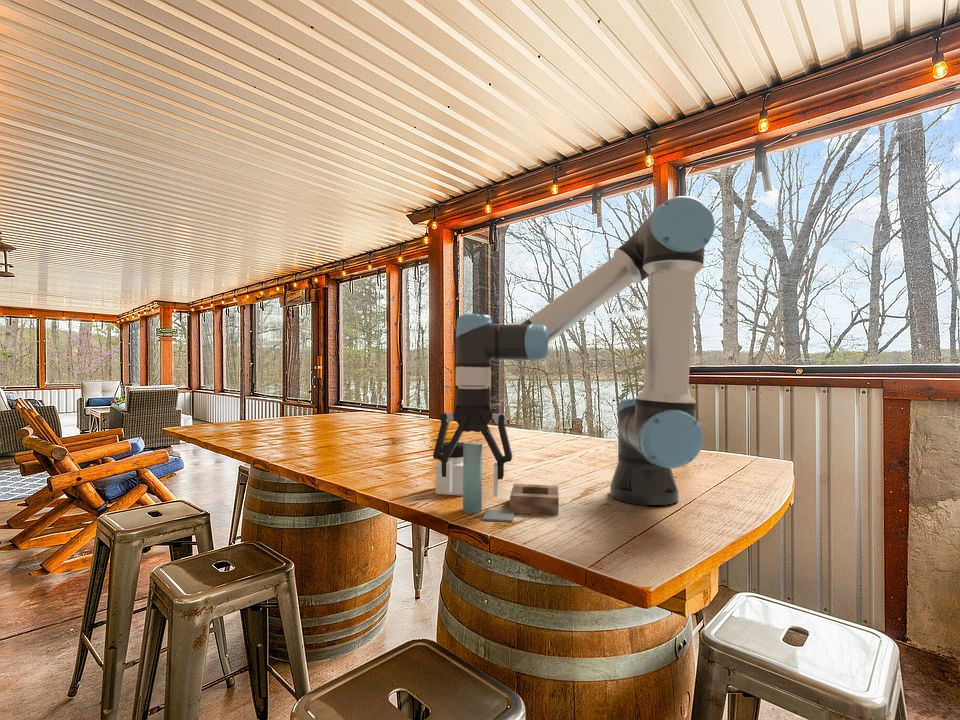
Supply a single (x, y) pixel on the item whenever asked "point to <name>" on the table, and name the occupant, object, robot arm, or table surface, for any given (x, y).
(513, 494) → the socket block
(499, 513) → the coaster
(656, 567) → the table surface
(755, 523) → the table surface
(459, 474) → the medicine bottle
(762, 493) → the table surface
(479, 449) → the peg
